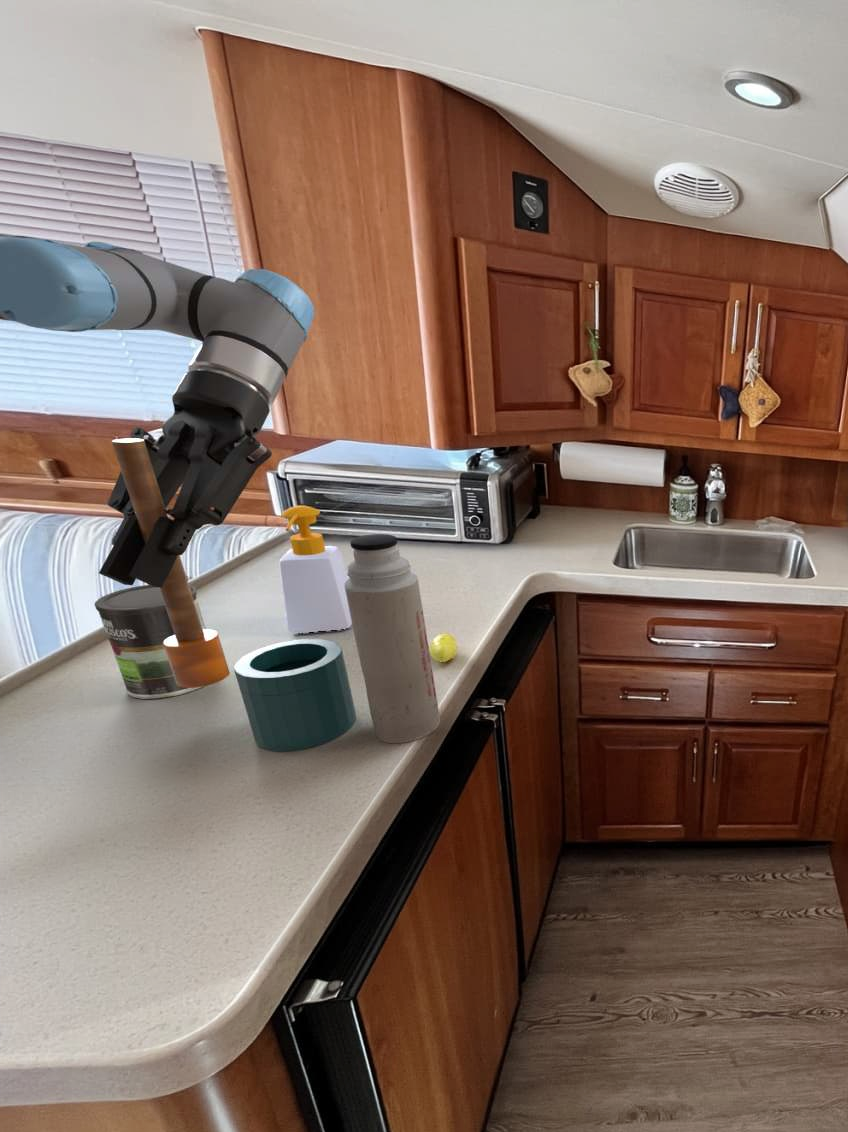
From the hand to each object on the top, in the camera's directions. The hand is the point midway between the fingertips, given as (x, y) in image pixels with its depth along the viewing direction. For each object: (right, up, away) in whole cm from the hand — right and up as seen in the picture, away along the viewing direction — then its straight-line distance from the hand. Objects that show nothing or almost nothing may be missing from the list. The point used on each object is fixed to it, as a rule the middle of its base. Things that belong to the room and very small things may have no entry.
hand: (131, 580), depth 62 cm
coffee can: (-29, -15, +34) cm, 47 cm away
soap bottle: (-21, -7, +53) cm, 58 cm away
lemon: (+4, -12, +47) cm, 49 cm away
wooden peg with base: (-1, -11, +9) cm, 14 cm away
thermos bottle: (+10, -20, +28) cm, 36 cm away
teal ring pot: (-3, -20, +26) cm, 33 cm away
